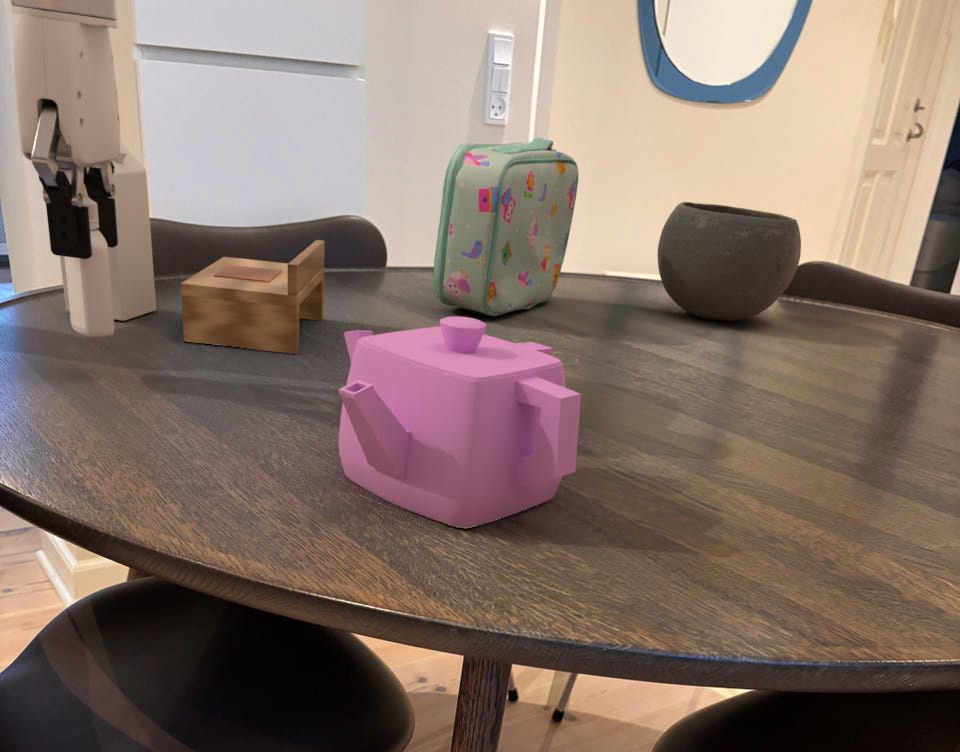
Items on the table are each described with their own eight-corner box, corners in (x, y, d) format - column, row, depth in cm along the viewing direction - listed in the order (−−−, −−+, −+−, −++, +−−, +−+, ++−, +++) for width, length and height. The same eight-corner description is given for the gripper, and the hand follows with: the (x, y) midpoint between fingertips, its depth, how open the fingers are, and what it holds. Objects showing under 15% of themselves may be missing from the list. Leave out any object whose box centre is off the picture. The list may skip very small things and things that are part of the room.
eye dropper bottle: (57, 334, 82) (41, 183, 75) (77, 320, 86) (63, 176, 80) (109, 340, 82) (97, 190, 76) (126, 325, 87) (116, 183, 81)
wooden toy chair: (183, 342, 99) (178, 252, 95) (225, 308, 115) (222, 229, 110) (297, 354, 100) (297, 264, 95) (323, 318, 115) (324, 240, 111)
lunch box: (505, 288, 146) (522, 132, 135) (566, 299, 142) (589, 141, 131) (422, 312, 124) (434, 130, 113) (492, 326, 121) (511, 140, 110)
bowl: (790, 340, 133) (820, 226, 125) (646, 320, 134) (667, 207, 127) (774, 313, 150) (799, 212, 143) (647, 296, 152) (665, 195, 144)
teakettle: (574, 539, 65) (604, 360, 59) (328, 524, 63) (331, 337, 57) (543, 455, 79) (564, 305, 73) (341, 441, 77) (345, 285, 71)
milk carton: (65, 313, 105) (42, 120, 95) (102, 302, 111) (84, 120, 101) (123, 322, 104) (105, 129, 94) (157, 311, 110) (143, 128, 100)
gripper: (58, 0, 79) (79, 231, 88) (-42, -19, 64) (-4, 261, 73) (148, 13, 79) (160, 242, 88) (69, -3, 64) (93, 274, 74)
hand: (85, 248), depth 81 cm, fingers closed on eye dropper bottle, 5 cm apart
